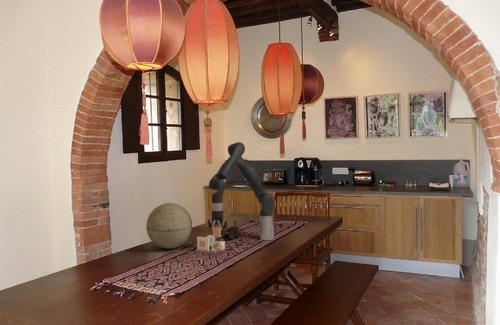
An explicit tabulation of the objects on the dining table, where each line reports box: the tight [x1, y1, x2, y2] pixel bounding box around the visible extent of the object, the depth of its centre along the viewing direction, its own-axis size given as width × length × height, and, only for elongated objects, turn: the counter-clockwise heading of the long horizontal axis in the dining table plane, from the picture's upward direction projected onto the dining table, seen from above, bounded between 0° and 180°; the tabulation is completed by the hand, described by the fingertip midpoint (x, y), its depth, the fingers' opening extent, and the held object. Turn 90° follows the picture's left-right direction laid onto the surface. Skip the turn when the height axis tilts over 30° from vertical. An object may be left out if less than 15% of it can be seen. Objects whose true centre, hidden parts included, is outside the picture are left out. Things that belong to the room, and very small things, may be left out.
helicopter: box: [223, 219, 246, 241], centre depth 303 cm, size 23×34×15 cm
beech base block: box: [210, 240, 226, 252], centre depth 265 cm, size 7×7×5 cm
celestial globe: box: [145, 202, 193, 250], centre depth 271 cm, size 30×30×30 cm
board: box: [195, 236, 212, 253], centre depth 262 cm, size 9×3×9 cm, turn 71°
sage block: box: [206, 234, 216, 247], centre depth 278 cm, size 5×5×6 cm
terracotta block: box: [212, 225, 222, 238], centre depth 265 cm, size 5×5×6 cm
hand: (217, 235), depth 265 cm, fingers closed on terracotta block, 5 cm apart
